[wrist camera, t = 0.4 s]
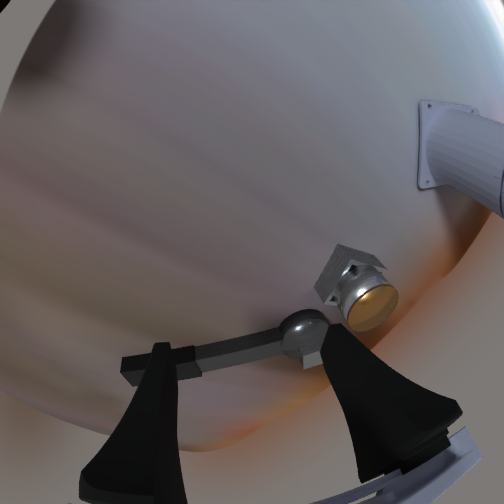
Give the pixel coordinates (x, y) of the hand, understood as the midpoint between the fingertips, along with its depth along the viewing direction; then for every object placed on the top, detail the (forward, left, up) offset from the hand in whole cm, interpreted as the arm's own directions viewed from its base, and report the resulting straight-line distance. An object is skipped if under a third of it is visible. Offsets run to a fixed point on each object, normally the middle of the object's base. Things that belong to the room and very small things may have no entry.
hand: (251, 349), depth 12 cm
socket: (-10, +6, -10) cm, 15 cm away
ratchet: (+3, +12, -10) cm, 16 cm away
